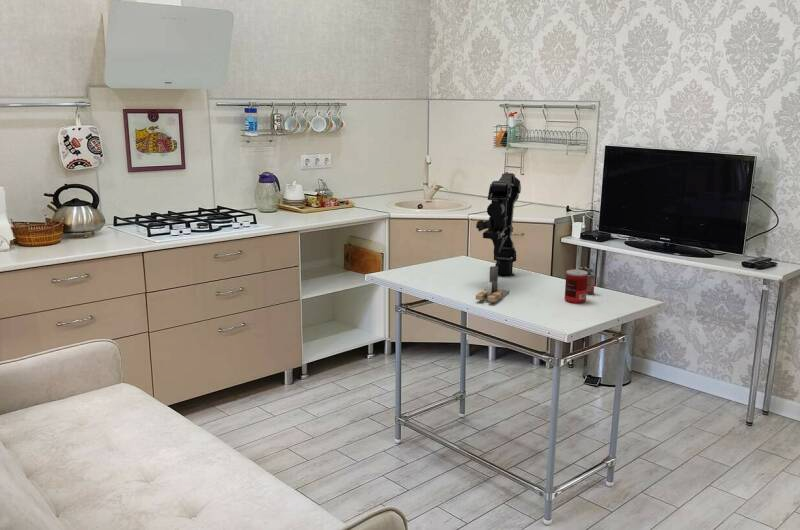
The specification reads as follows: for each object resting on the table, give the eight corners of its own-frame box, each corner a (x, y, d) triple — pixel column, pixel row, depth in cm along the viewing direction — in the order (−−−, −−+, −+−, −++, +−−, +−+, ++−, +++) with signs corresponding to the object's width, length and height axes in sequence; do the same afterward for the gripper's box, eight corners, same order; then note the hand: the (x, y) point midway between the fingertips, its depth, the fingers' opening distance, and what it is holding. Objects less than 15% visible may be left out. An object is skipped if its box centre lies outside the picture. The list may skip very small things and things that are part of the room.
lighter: (572, 291, 273) (574, 266, 270) (576, 290, 275) (578, 265, 273) (591, 295, 267) (593, 270, 265) (595, 294, 270) (597, 268, 267)
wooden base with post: (485, 292, 265) (486, 265, 262) (503, 295, 262) (504, 267, 259) (475, 299, 256) (476, 270, 254) (493, 301, 253) (495, 273, 251)
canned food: (586, 299, 263) (588, 270, 260) (584, 304, 255) (587, 275, 253) (565, 297, 265) (567, 268, 263) (563, 302, 258) (565, 273, 255)
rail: (494, 291, 272) (494, 273, 270) (509, 293, 269) (510, 275, 268) (479, 301, 259) (480, 282, 257) (495, 303, 256) (495, 284, 254)
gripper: (487, 209, 286) (486, 246, 290) (470, 215, 270) (469, 255, 274) (514, 211, 281) (512, 249, 285) (498, 218, 265) (496, 258, 269)
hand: (497, 253), depth 278 cm, fingers closed
